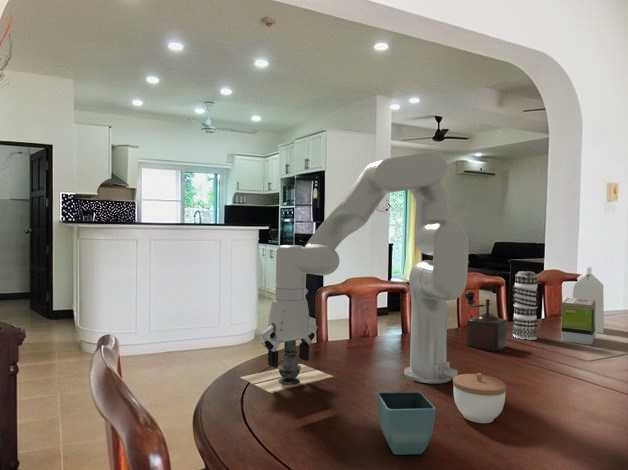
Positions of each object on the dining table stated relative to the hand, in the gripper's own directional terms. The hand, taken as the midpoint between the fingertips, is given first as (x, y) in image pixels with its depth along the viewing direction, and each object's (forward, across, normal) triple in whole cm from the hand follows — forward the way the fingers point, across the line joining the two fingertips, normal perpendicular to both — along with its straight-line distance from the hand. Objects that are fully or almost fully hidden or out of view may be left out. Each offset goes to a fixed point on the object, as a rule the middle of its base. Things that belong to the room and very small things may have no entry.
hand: (288, 362), depth 115 cm
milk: (+6, -143, +20) cm, 144 cm away
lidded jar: (+6, -21, +40) cm, 45 cm away
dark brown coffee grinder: (+6, -80, +6) cm, 81 cm away
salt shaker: (+5, 0, 0) cm, 5 cm away
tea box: (+6, -119, +24) cm, 122 cm away
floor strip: (+6, -2, -7) cm, 9 cm away
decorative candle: (+6, -105, +10) cm, 106 cm away
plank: (+6, -2, 0) cm, 6 cm away
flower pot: (+6, +3, +38) cm, 39 cm away
